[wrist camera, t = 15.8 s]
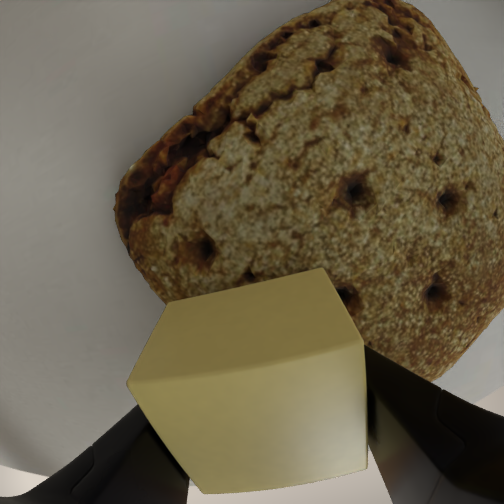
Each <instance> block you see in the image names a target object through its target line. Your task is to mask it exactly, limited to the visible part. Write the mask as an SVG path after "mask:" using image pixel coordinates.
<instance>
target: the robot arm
mask: <svg viewBox="0 0 504 504" xmlns="http://www.w3.org/2000/svg"><path fill="white" fill-rule="evenodd" d="M364 353H365V367H366V385H367V412H368V445H369V447H370V449H371V452H372V454H373V456H374V459H375V461H376V464H377V466H378V468H379V471H380V473H381V475H382V478H383V480H384V483H385V485H386V488H387V490H388V492H389V495H390V498H391V500H392V502H393V504H504V417H503V416H501V415H498V414H495V413H493V412H490V411H487V410H485V409H483V408H480V407H478V406H476V405H473V404H471V403H469V402H467V401H465V400H463V399H461V398H459V397H457V396H455V395H453V394H451V393H449V392H448V391H446V390H444V389H443V390H442V389H441V388H440V387H438V386H437V385H435V384H433V383H431V382H429V381H428V380H426V379H424V378H422V377H420V376H419V375H417V374H415V373H413V372H412V371H410V370H408V369H406V368H405V367H403V366H401V365H399V364H398V363H396V362H394V361H392V360H391V359H389V358H387V357H385V356H384V355H382V354H380V353H378V352H377V351H375V350H373V349H371V348H370V347H368V346H366V345H364ZM441 390H442V391H441ZM189 480H190V477H189V476H188V475H187V473H186V472H185V471H184V470H183V468H182V467H181V466H180V464H179V463H178V462H177V460H176V459H175V458H174V456H173V455H172V454H171V452H170V451H169V450H168V448H167V447H166V445H165V444H164V443H163V441H162V440H161V438H160V437H159V435H158V434H157V433H156V431H155V430H154V428H153V427H152V425H151V424H150V422H149V421H148V419H147V418H146V416H145V414H144V413H143V411H142V410H141V408H140V407H139V405H136V406H135V407H134V408H133V409H132V410H131V411H130V412H129V413H127V414H126V415H125V416H124V417H123V418H122V419H121V420H120V421H118V422H117V423H116V424H115V425H114V426H113V427H112V428H110V429H109V430H108V431H107V432H106V433H105V434H104V435H102V436H101V437H100V438H99V439H98V440H97V441H96V442H94V443H93V444H92V446H90V447H88V448H87V449H86V450H85V451H84V452H83V453H81V454H80V455H79V456H78V457H77V458H75V459H74V460H73V461H72V462H70V463H69V464H68V465H66V466H65V467H64V468H62V469H61V470H59V471H58V472H57V473H55V474H54V475H52V476H51V477H49V478H48V479H46V480H45V481H43V482H42V483H40V484H39V485H37V486H36V487H34V488H33V489H31V490H30V491H28V492H26V493H24V494H22V495H18V496H14V497H0V504H187V495H188V488H189Z"/></svg>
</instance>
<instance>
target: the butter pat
mask: <svg viewBox="0 0 504 504" xmlns="http://www.w3.org/2000/svg"><path fill="white" fill-rule="evenodd" d="M127 387H128V388H129V390H130V392H131V393H132V395H133V397H134V398H135V400H136V402H137V403H138V405H139V407H140V408H141V410H142V411H143V413H144V414H145V416H146V418H147V419H148V421H149V422H150V424H151V425H152V427H153V428H154V430H155V431H156V433H157V434H158V435H159V437H160V438H161V440H162V441H163V443H164V444H165V445H166V447H167V448H168V450H169V451H170V452H171V454H172V455H173V456H174V458H175V459H176V460H177V462H178V463H179V464H180V466H181V467H182V468H183V470H184V471H185V472H186V473H187V475H188V476H189V477H190V479H191V480H192V481H193V482H194V483H195V485H196V486H197V487H198V488H199V489H200V491H201V492H202V493H203V494H221V493H223V494H224V493H239V492H250V491H260V490H268V489H276V488H284V487H290V486H296V485H302V484H307V483H313V482H317V481H322V480H327V479H331V478H336V477H340V476H344V475H348V474H352V473H355V472H359V471H363V470H366V469H367V466H368V412H367V385H366V367H365V353H364V341H363V339H362V337H361V335H360V333H359V331H358V330H357V328H356V326H355V324H354V322H353V320H352V318H351V317H350V315H349V313H348V311H347V309H346V307H345V306H344V304H343V302H342V300H341V298H340V297H339V295H338V293H337V291H336V289H335V288H334V286H333V284H332V282H331V280H330V279H329V277H328V275H327V273H326V272H325V270H324V268H317V269H313V270H309V271H305V272H301V273H297V274H293V275H288V276H284V277H280V278H276V279H272V280H267V281H263V282H259V283H254V284H250V285H246V286H241V287H237V288H232V289H228V290H223V291H219V292H214V293H210V294H205V295H201V296H196V297H191V298H187V299H182V300H177V301H173V302H169V303H168V304H167V306H166V308H165V310H164V311H163V313H162V315H161V317H160V319H159V321H158V323H157V324H156V326H155V328H154V330H153V332H152V334H151V336H150V338H149V339H148V341H147V343H146V345H145V347H144V349H143V351H142V353H141V355H140V357H139V359H138V360H137V362H136V364H135V366H134V368H133V370H132V372H131V374H130V376H129V378H128V380H127Z"/></svg>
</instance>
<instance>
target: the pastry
mask: <svg viewBox="0 0 504 504" xmlns="http://www.w3.org/2000/svg"><path fill="white" fill-rule="evenodd" d="M478 89H479V88H476V87H473V85H472V83H471V81H470V79H469V78H468V76H467V74H466V72H465V71H464V69H463V67H462V65H461V64H460V62H459V61H458V60H457V58H456V57H455V56H454V54H453V53H452V51H451V49H450V48H449V46H448V45H447V43H446V41H445V40H444V38H443V37H442V36H441V34H440V33H439V32H438V31H437V29H436V28H435V27H434V25H433V23H432V22H431V21H430V20H429V19H428V18H427V17H426V16H425V15H424V14H423V13H422V12H421V11H419V10H418V9H417V8H415V7H414V6H413V5H411V4H408V3H405V2H403V1H401V0H332V1H331V2H329V3H328V4H326V5H324V6H322V7H320V8H316V9H314V10H313V11H311V12H310V13H304V14H302V15H300V16H297V17H295V18H293V19H291V20H290V21H289V22H287V23H286V24H284V25H282V26H281V27H279V28H278V29H276V30H275V31H273V32H272V33H271V34H269V35H268V36H266V37H265V38H264V39H262V40H261V41H260V42H259V43H257V44H256V45H255V46H254V47H253V48H252V49H251V50H250V51H249V52H248V53H247V54H246V55H245V56H244V57H243V58H242V59H241V60H240V61H239V62H238V63H237V64H236V65H235V66H234V67H233V68H232V69H231V71H230V72H229V73H228V74H227V75H226V76H225V77H224V78H223V79H222V80H221V81H220V82H218V83H217V84H216V85H215V86H214V87H213V88H212V89H211V91H210V93H208V94H207V95H206V96H204V97H203V98H202V99H201V100H200V101H199V102H198V103H197V104H196V105H195V106H194V107H193V115H188V116H184V117H183V118H182V119H181V120H179V121H178V122H177V123H176V124H175V125H173V126H172V127H171V128H170V129H169V130H168V131H167V132H166V133H165V134H164V135H163V136H162V137H161V139H160V140H159V141H157V142H156V143H155V144H154V145H153V146H151V147H150V148H149V149H148V150H146V151H145V153H144V154H143V156H142V157H141V158H140V159H139V160H138V161H137V162H135V163H134V164H133V165H132V166H131V167H130V168H129V170H128V171H127V173H126V174H125V176H124V177H123V178H122V180H121V181H120V186H119V191H118V192H117V193H116V194H115V197H116V204H115V206H114V208H113V210H114V211H115V222H116V225H117V228H118V231H119V234H120V237H121V240H122V242H123V243H124V245H125V246H126V248H127V251H128V254H129V256H130V258H131V259H132V260H133V261H134V264H135V267H136V268H137V269H138V270H139V271H140V272H141V273H142V275H143V277H144V279H145V280H146V281H147V282H148V283H149V285H150V288H151V289H152V290H153V291H154V292H155V293H156V294H157V295H158V296H159V297H160V299H161V300H162V301H163V302H164V303H165V304H166V305H167V304H168V303H169V302H173V301H177V300H182V299H187V298H191V297H196V296H201V295H205V294H210V293H214V292H219V291H223V290H228V289H232V288H237V287H241V286H246V285H250V284H254V283H259V282H263V281H267V280H272V279H276V278H280V277H284V276H288V275H293V274H297V273H301V272H305V271H309V270H313V269H317V268H324V270H325V272H326V273H327V275H328V277H329V279H330V280H331V282H332V284H333V286H334V288H335V289H336V291H337V293H338V295H339V297H340V298H341V300H342V302H343V304H344V306H345V307H346V309H347V311H348V313H349V315H350V317H351V318H352V320H353V322H354V324H355V326H356V328H357V330H358V331H359V333H360V335H361V337H362V339H363V341H364V345H366V346H368V347H370V348H371V349H373V350H375V351H377V352H378V353H380V354H382V355H384V356H385V357H387V358H389V359H391V360H392V361H394V362H396V363H398V364H399V365H401V366H403V367H405V368H406V369H408V370H410V371H412V372H413V373H415V374H417V375H419V376H420V377H422V378H424V379H426V380H428V381H429V382H431V381H433V380H436V379H437V378H439V377H441V376H442V375H443V374H444V373H445V372H446V371H448V370H449V369H450V368H451V367H452V366H453V365H454V364H455V363H456V362H457V361H458V359H459V358H460V357H461V356H462V355H463V354H464V353H465V352H466V350H467V349H468V348H469V347H470V346H471V345H472V344H473V342H474V341H475V340H476V339H477V338H478V336H479V335H480V334H481V333H482V332H483V330H484V329H486V328H487V327H488V325H489V324H490V322H491V321H492V320H493V319H494V318H495V317H496V316H497V315H498V314H499V313H500V311H501V310H502V309H503V308H504V140H503V139H502V137H501V136H500V135H499V133H498V130H497V127H496V125H495V124H494V123H493V122H492V120H491V118H490V113H489V111H488V110H487V109H486V108H485V107H484V106H483V104H482V103H481V102H482V100H481V98H480V96H479V94H478V93H477V92H476V90H478Z"/></svg>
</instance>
